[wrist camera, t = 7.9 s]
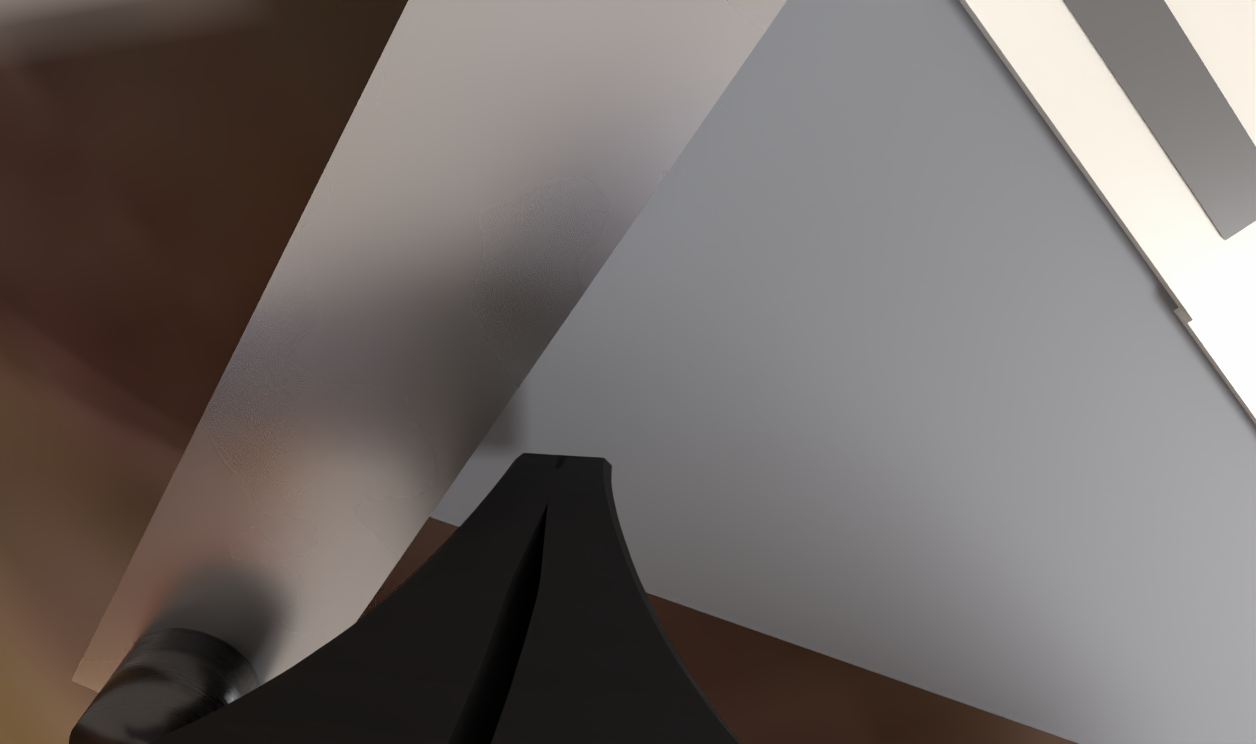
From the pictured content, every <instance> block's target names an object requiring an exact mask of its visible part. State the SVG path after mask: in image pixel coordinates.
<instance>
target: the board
mask: <svg viewBox="0 0 1256 744" xmlns="http://www.w3.org/2000/svg"><path fill="white" fill-rule="evenodd" d="M1177 308H1178V306H1177V305H1176V303H1175V302H1174V300H1173V299H1172V298H1171V296H1170V295H1169V293H1168V292H1167V291H1166V289H1165V288H1164V286H1163V285H1162V284H1161V282H1160V281H1159V279H1158V278H1157V277H1156V275H1155V274H1154V272H1153V271H1152V270H1151V268H1150V267H1149V265H1148V264H1147V263H1146V261H1145V260H1144V258H1143V257H1142V256H1141V254H1140V253H1139V251H1138V250H1137V249H1136V247H1135V246H1134V244H1133V243H1132V242H1131V240H1130V239H1129V237H1128V236H1127V235H1126V233H1125V232H1124V230H1123V229H1122V228H1121V226H1120V225H1119V224H1118V222H1117V221H1116V219H1115V218H1114V217H1113V215H1112V214H1111V212H1110V211H1109V210H1108V208H1107V207H1106V205H1105V204H1104V203H1103V201H1102V200H1101V198H1100V197H1099V196H1098V194H1097V193H1096V191H1095V190H1094V189H1093V187H1092V186H1091V184H1090V183H1089V182H1088V180H1087V179H1086V177H1085V176H1084V175H1083V173H1082V172H1081V170H1080V169H1079V168H1078V166H1077V165H1076V163H1075V162H1074V161H1073V159H1072V158H1071V156H1070V155H1069V154H1068V152H1067V151H1066V149H1065V148H1064V147H1063V145H1062V144H1061V142H1060V141H1059V140H1058V138H1057V137H1056V135H1055V134H1054V133H1053V131H1052V130H1051V128H1050V127H1049V126H1048V124H1047V123H1046V121H1045V120H1044V119H1043V117H1042V116H1041V115H1040V113H1039V112H1038V110H1037V109H1036V108H1035V106H1034V105H1033V103H1032V102H1031V101H1030V99H1029V98H1028V96H1027V95H1026V94H1025V92H1024V91H1023V89H1022V88H1021V87H1020V85H1019V84H1018V82H1017V81H1016V80H1015V78H1014V77H1013V75H1012V74H1011V73H1010V71H1009V70H1008V68H1007V67H1006V66H1005V64H1004V63H1003V61H1002V60H1001V59H1000V57H999V56H998V54H997V53H996V52H995V50H994V49H993V47H992V46H991V45H990V43H989V42H988V40H987V39H986V38H985V36H984V35H983V33H982V32H981V31H980V29H979V28H978V26H977V25H976V24H975V22H974V21H973V19H972V18H971V17H970V15H969V14H968V13H967V11H966V10H965V8H964V7H963V6H962V4H961V3H960V1H959V0H787V1H786V3H785V4H784V6H783V7H782V8H781V10H780V11H779V13H778V14H777V16H776V17H775V19H774V20H773V21H772V23H771V24H770V26H769V27H768V29H767V30H766V32H765V33H764V34H763V36H762V37H761V39H760V40H759V42H758V43H757V45H756V46H755V47H754V49H753V50H752V52H751V53H750V55H749V56H748V57H747V59H746V60H745V62H744V63H743V65H742V66H741V68H740V69H739V70H738V72H737V73H736V75H735V76H734V78H733V79H732V81H731V82H730V83H729V85H728V86H727V88H726V89H725V91H724V92H723V94H722V95H721V96H720V98H719V99H718V101H717V102H716V104H715V105H714V107H713V108H712V109H711V111H710V112H709V114H708V115H707V117H706V118H705V120H704V121H703V122H702V124H701V125H700V127H699V128H698V130H697V131H696V133H695V134H694V135H693V137H692V138H691V140H690V141H689V143H688V144H687V145H686V147H685V148H684V150H683V151H682V153H681V154H680V156H679V157H678V158H677V160H676V161H675V163H674V164H673V166H672V167H671V169H670V170H669V171H668V173H667V174H666V176H665V177H664V179H663V180H662V182H661V183H660V184H659V186H658V187H657V189H656V190H655V192H654V193H653V195H652V196H651V197H650V199H649V200H648V202H647V203H646V205H645V206H644V208H643V209H642V210H641V212H640V213H639V215H638V216H637V218H636V219H635V221H634V222H633V223H632V225H631V226H630V228H629V229H628V231H627V232H626V234H625V235H624V236H623V238H622V239H621V241H620V242H619V244H618V245H617V246H616V248H615V249H614V251H613V252H612V254H611V255H610V257H609V258H608V259H607V261H606V262H605V264H604V265H603V267H602V268H601V270H600V271H599V272H598V274H597V275H596V277H595V278H594V280H593V281H592V283H591V284H590V285H589V287H588V288H587V290H586V291H585V293H584V294H583V296H582V297H581V298H580V300H579V301H578V303H577V304H576V306H575V307H574V309H573V310H572V311H571V313H570V314H569V316H568V317H567V319H566V320H565V322H564V323H563V324H562V326H561V327H560V329H559V330H558V332H557V333H556V335H555V336H554V337H553V339H552V340H551V342H550V343H549V345H548V346H547V347H546V349H545V350H544V352H543V353H542V355H541V356H540V358H539V359H538V360H537V362H536V363H535V365H534V366H533V368H532V369H531V371H530V372H529V373H528V375H527V376H526V378H525V379H524V381H523V382H522V384H521V385H520V386H519V388H518V389H517V391H516V392H515V394H514V395H513V397H512V398H511V399H510V401H509V402H508V404H507V405H506V407H505V408H504V410H503V411H502V412H501V414H500V415H499V417H498V418H497V420H496V421H495V423H494V424H493V425H492V427H491V428H490V430H489V431H488V433H487V434H486V436H485V437H484V438H483V440H482V441H481V443H480V444H479V446H478V447H477V448H476V450H475V451H474V453H473V454H472V456H471V457H470V459H469V460H468V461H467V463H466V464H465V466H464V467H463V469H462V470H461V472H460V473H459V474H458V476H457V477H456V479H455V480H454V482H453V483H452V485H451V486H450V487H449V489H448V490H447V492H446V493H445V495H444V496H443V498H442V499H441V500H440V502H439V503H438V505H437V506H436V508H435V509H434V511H433V512H432V513H431V515H430V516H429V517H432V518H434V519H437V520H440V521H443V522H446V523H449V524H452V525H455V526H457V527H460V526H461V525H462V523H463V522H464V521H465V520H466V519H467V518H468V517H469V516H470V515H471V513H472V512H473V511H474V510H475V509H476V508H477V507H478V506H479V504H480V503H481V502H482V501H483V500H484V498H485V497H486V496H487V495H488V494H489V492H490V491H491V490H492V489H493V488H494V486H495V485H496V484H497V483H498V481H499V480H500V479H501V478H502V476H503V475H504V474H505V472H506V471H507V470H508V468H509V467H510V466H511V464H512V463H513V462H514V460H515V459H516V458H517V457H519V456H520V455H521V454H522V453H534V454H551V455H568V456H585V457H601V458H605V459H606V460H607V461H608V462H609V463H610V464H611V465H612V481H611V483H612V491H613V497H614V502H615V507H616V511H617V515H618V519H619V522H620V526H621V529H622V532H623V535H624V538H625V541H626V544H627V547H628V550H629V553H630V556H631V559H632V561H633V564H634V566H635V569H636V571H637V574H638V576H639V579H640V581H641V583H642V585H643V588H644V590H645V592H646V593H649V594H652V595H655V596H658V597H661V598H663V599H666V600H669V601H672V602H675V603H678V604H681V605H683V606H686V607H689V608H692V609H695V610H698V611H701V612H704V613H706V614H709V615H712V616H715V617H718V618H721V619H724V620H726V621H729V622H732V623H735V624H738V625H741V626H744V627H746V628H749V629H752V630H755V631H758V632H761V633H764V634H767V635H769V636H772V637H775V638H778V639H781V640H784V641H787V642H789V643H792V644H795V645H798V646H801V647H804V648H807V649H809V650H812V651H815V652H818V653H821V654H824V655H827V656H829V657H832V658H835V659H838V660H841V661H844V662H847V663H850V664H852V665H855V666H858V667H861V668H864V669H867V670H870V671H872V672H875V673H878V674H881V675H884V676H887V677H890V678H892V679H895V680H898V681H901V682H904V683H907V684H910V685H912V686H915V687H918V688H921V689H924V690H927V691H930V692H933V693H935V694H938V695H941V696H944V697H947V698H950V699H953V700H955V701H958V702H961V703H964V704H967V705H970V706H973V707H975V708H978V709H981V710H984V711H987V712H990V713H993V714H995V715H998V716H1001V717H1004V718H1007V719H1010V720H1013V721H1016V722H1018V723H1021V724H1024V725H1027V726H1030V727H1033V728H1036V729H1038V730H1041V731H1044V732H1047V733H1050V734H1053V735H1056V736H1058V737H1061V738H1064V739H1067V740H1070V741H1073V742H1076V743H1079V744H1256V425H1255V423H1254V422H1253V421H1252V419H1251V418H1250V417H1249V415H1248V414H1247V412H1246V411H1245V410H1244V408H1243V407H1242V405H1241V404H1240V403H1239V401H1238V400H1237V398H1236V397H1235V396H1234V394H1233V393H1232V392H1231V390H1230V389H1229V387H1228V386H1227V385H1226V383H1225V382H1224V380H1223V379H1222V378H1221V376H1220V375H1219V373H1218V372H1217V371H1216V369H1215V368H1214V366H1213V365H1212V364H1211V362H1210V361H1209V360H1208V358H1207V357H1206V355H1205V354H1204V353H1203V351H1202V350H1201V348H1200V347H1199V346H1198V344H1197V343H1196V341H1195V340H1194V339H1193V337H1192V336H1191V335H1190V333H1189V332H1188V330H1187V329H1186V328H1185V326H1184V325H1183V323H1182V322H1181V321H1180V319H1179V318H1178V316H1177V315H1176V314H1175V312H1174V310H1175V309H1177Z"/></svg>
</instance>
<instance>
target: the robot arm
mask: <svg viewBox="0 0 1256 744" xmlns="http://www.w3.org/2000/svg"><path fill="white" fill-rule="evenodd" d="M611 481H612V465H611V464H610V463H609V462H608V461H607V460H606V459H605V458H601V457H585V456H568V455H551V454H534V453H522V454H521V455H520V456H519V457H517V458H516V459H515V460H514V462H513V463H512V464H511V466H510V467H509V468H508V470H507V471H506V472H505V474H504V475H503V476H502V478H501V479H500V480H499V481H498V483H497V484H496V485H495V486H494V488H493V489H492V490H491V491H490V492H489V494H488V495H487V496H486V497H485V498H484V500H483V501H482V502H481V503H480V504H479V506H478V507H477V508H476V509H475V510H474V511H473V512H472V513H471V515H470V516H469V517H468V518H467V519H466V520H465V521H464V522H463V523H462V525H461V526H460V527H459V528H458V529H457V530H456V531H455V532H454V533H453V534H452V536H451V537H450V538H449V539H448V540H447V541H446V542H445V543H444V544H443V545H442V546H441V547H440V548H439V549H438V550H437V551H436V552H435V553H434V554H433V555H432V556H431V557H430V558H429V559H428V560H427V561H426V562H425V563H424V564H423V565H421V566H420V567H419V568H418V569H417V570H416V571H415V572H414V573H413V574H412V575H411V576H410V577H409V578H408V579H407V580H406V581H405V582H404V583H403V584H401V585H400V586H399V587H398V588H397V589H396V590H395V591H393V592H392V593H391V594H390V595H389V596H388V597H387V598H385V599H384V600H383V601H382V602H381V603H379V604H378V605H377V606H376V607H375V608H373V609H372V610H371V611H370V612H368V613H367V614H366V615H365V616H363V617H362V618H361V619H360V620H358V621H357V622H356V623H354V624H353V625H352V626H351V627H349V628H348V629H346V630H345V631H344V632H342V633H341V634H339V635H338V636H337V637H335V638H334V639H332V640H331V641H330V642H328V643H327V644H325V645H324V646H322V647H321V648H319V649H318V650H316V651H315V652H313V653H312V654H310V655H309V656H307V657H306V658H304V659H303V660H301V661H300V662H299V663H297V664H296V665H294V666H293V667H291V668H289V669H288V670H286V671H285V672H283V673H281V674H280V675H278V676H276V677H274V678H273V679H271V680H269V681H268V682H266V683H264V684H263V685H261V686H259V687H258V688H256V689H254V690H252V691H251V692H249V693H247V694H245V695H243V696H242V697H240V698H238V699H236V700H234V701H232V702H231V703H229V704H227V705H225V706H223V707H222V708H220V709H218V710H216V711H214V712H212V713H210V714H208V715H206V716H204V717H202V718H200V719H198V720H197V721H194V722H192V723H190V724H188V725H186V726H184V727H182V728H180V729H177V730H175V731H173V732H171V733H169V734H167V735H165V736H163V737H160V738H158V739H156V740H154V741H152V742H150V743H148V744H741V742H740V741H739V740H738V739H737V737H736V736H735V735H734V734H733V733H732V731H731V730H730V729H729V728H728V726H727V725H726V724H725V722H724V721H723V719H722V718H721V717H720V715H719V714H718V712H717V711H716V710H715V708H714V707H713V706H712V704H711V703H710V701H709V700H708V699H707V697H706V696H705V694H704V693H703V692H702V690H701V689H700V688H699V686H698V685H697V683H696V682H695V681H694V679H693V678H692V676H691V675H690V673H689V671H688V670H687V668H686V666H685V665H684V663H683V662H682V660H681V658H680V657H679V655H678V653H677V652H676V650H675V649H674V647H673V645H672V643H671V641H670V640H669V638H668V636H667V634H666V632H665V631H664V629H663V627H662V625H661V623H660V621H659V619H658V617H657V615H656V614H655V612H654V609H653V607H652V605H651V603H650V601H649V599H648V597H647V595H646V592H645V590H644V588H643V585H642V583H641V581H640V579H639V576H638V574H637V571H636V569H635V566H634V564H633V561H632V559H631V556H630V553H629V550H628V547H627V544H626V541H625V538H624V535H623V532H622V529H621V526H620V522H619V519H618V515H617V511H616V507H615V502H614V497H613V491H612V483H611Z"/></svg>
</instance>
